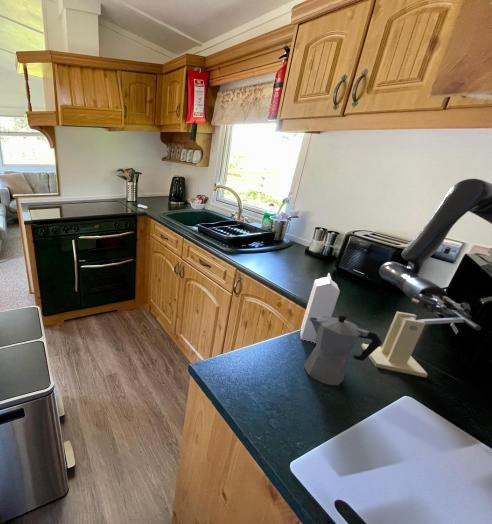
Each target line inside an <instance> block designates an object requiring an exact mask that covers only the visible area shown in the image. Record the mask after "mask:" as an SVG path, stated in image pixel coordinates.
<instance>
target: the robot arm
mask: <svg viewBox="0 0 492 524" xmlns="http://www.w3.org/2000/svg"><path fill="white" fill-rule="evenodd" d="M468 212H470V213H472V214H473V215H475V216H477V217H479V218H481V219H482V220H484V221H487V222H488V223H489V224H491V225H492V183H491V182H489V181H486V180H483V179H479V178H467V179H463V180H461V181H459V182H456V183H455V184H454V185H453V186H452V187H451V188H450V189H449V191H448V192H447V193H446V195H445V196H444V198H443V200H442V201H441V203H440V204H439V205H438V208H436V210H435V211H434V213H433V214H432V216H431V218H430V219H429V220H428V221H427V223H426V224H425V226H424V227H423V228H422V229H421V230H420V231H419V233H418V234H417V235H416V236H415V237H414V238H413V239H412V240H411V242H409V243H408V244H407V246H406V247H405V248H404V249H403V250H402V252H401V254H400V255H401V257H402V258H403V259H404V260H405V261H408V264H407V266H406V265H404V264H401V263H399V262H396V261H386V262H385V263H383V264H382V265H381V266H380V267H379V275H380V277H381V278H382V279H383V280H385V281H386V282H387V283H390V284H392V285H393V286H395V287H397V288H399V289H400V291H402V292H403V293H404V294H405V295H406V296H407V297H408V298H409V299H410V300H411V302H410V303H412V305H415V306H417V307H419V308H421V309H423V310H425V311H427V312H429V313H434V312H435V313H436V314H438V315H442V316H443V317H444V318H454V317H456V316H457V314H456V313H455V312H453V311H452V310H456V311H457V312H459V313H460V314H462V315H463V316H465V317H466V318H468V319H469V320H471V321H472V316H471V315H470V314H469V313H470V312H471V310H472V309H471V306H470V303H468V302H466V301H465V302H464V301H463V302H461V303H458V302H456V301H455V300H454V299H452V298H450V297H449V296H448V293H447V291H446V290H445V289H443V287H441V286H439V285H438V284H436V283H434V282H433V281H432V280H429V279H427V278H426V277H425V278H424V276H422V275H420V272H421V270H422V269H423V266H424V265H425V263H426V262H427V260H429V259H430V258H431V256H433V254H435V253H436V252H437V250H438V249H439V248H440V247H441V245H442V244H443V243H444V241H445V239H446V238H447V236H448V234H449V233H450V231H451V229H452V228H453V227H454V226H455V224H457V222H459V220H460V219H461V218H462V217H463V216H464V215H466V214H467V213H468ZM463 323H464V324H466V323H465V322H463Z"/></svg>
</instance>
